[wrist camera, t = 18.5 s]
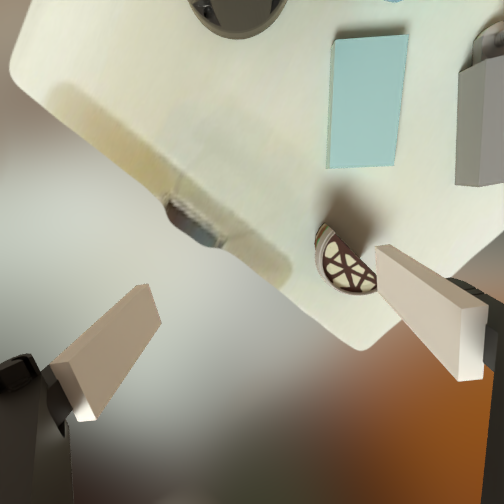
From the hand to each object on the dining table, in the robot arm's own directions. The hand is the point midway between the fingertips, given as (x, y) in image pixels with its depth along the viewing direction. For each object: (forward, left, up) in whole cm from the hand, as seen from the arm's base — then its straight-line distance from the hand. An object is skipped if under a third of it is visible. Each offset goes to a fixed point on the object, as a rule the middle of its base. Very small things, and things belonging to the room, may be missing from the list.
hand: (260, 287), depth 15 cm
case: (-8, +35, -32) cm, 48 cm away
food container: (+10, +10, -32) cm, 35 cm away
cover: (-12, +17, -32) cm, 38 cm away
